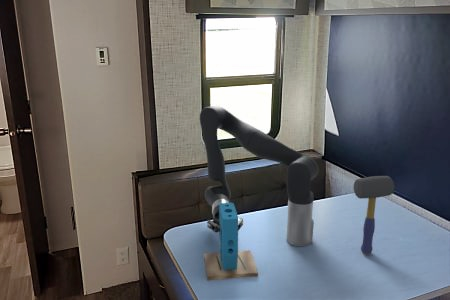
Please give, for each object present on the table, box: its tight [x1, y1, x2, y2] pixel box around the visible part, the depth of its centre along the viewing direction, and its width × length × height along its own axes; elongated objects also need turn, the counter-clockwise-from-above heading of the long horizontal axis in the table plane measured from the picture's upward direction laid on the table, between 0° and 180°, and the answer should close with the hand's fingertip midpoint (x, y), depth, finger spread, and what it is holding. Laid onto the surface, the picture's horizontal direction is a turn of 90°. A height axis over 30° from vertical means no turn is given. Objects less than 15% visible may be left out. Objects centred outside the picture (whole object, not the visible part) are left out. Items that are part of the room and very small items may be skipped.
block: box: [219, 202, 239, 270], centre depth 148 cm, size 12×5×20 cm, turn 7°
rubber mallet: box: [353, 175, 395, 256], centre depth 155 cm, size 12×8×30 cm, turn 103°
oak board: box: [203, 249, 259, 281], centre depth 151 cm, size 17×14×2 cm
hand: (228, 235), depth 147 cm, fingers closed on block, 2 cm apart
